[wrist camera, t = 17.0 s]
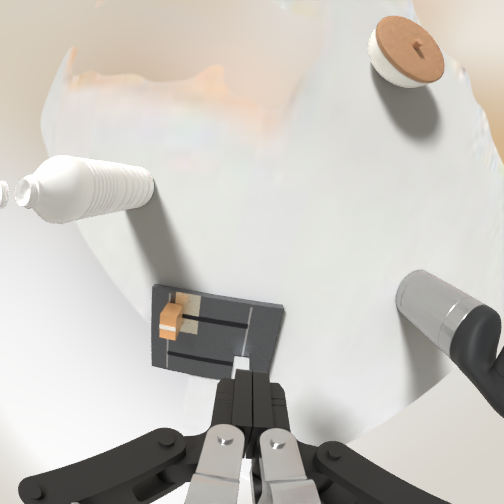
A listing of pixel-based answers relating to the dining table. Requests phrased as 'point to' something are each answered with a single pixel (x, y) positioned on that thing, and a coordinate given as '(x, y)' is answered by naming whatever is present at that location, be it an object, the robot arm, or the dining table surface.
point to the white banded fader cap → (239, 364)
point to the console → (214, 333)
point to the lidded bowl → (405, 53)
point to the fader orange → (171, 321)
